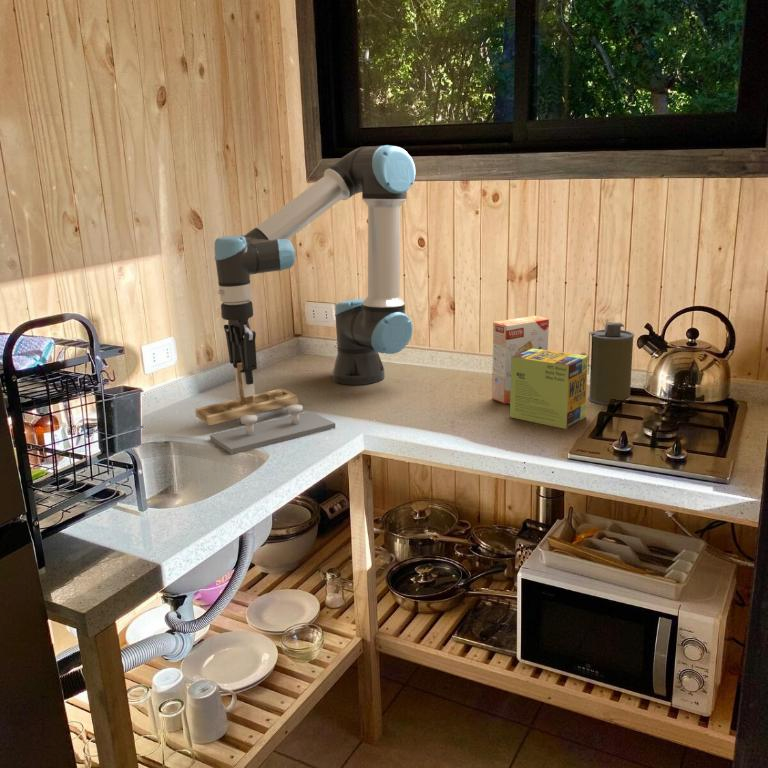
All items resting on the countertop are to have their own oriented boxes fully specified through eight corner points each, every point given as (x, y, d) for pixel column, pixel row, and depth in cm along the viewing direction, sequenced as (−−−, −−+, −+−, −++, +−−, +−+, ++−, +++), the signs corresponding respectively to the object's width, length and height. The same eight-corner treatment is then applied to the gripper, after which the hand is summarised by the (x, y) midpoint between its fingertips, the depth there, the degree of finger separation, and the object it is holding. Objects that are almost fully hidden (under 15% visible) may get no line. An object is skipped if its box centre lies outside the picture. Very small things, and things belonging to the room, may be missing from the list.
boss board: (310, 415, 201) (309, 395, 200) (335, 427, 192) (334, 406, 190) (210, 439, 187) (208, 417, 185) (231, 454, 177) (229, 431, 176)
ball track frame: (282, 395, 210) (278, 351, 206) (298, 403, 203) (294, 357, 199) (196, 416, 197) (190, 369, 193) (209, 425, 190) (203, 377, 187)
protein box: (567, 429, 185) (569, 365, 181) (509, 417, 195) (509, 356, 190) (586, 417, 193) (589, 355, 189) (530, 406, 203) (531, 347, 198)
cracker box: (505, 405, 204) (506, 325, 198) (491, 399, 209) (491, 321, 203) (547, 395, 211) (549, 318, 205) (533, 390, 216) (534, 314, 210)
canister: (627, 393, 210) (631, 319, 204) (633, 405, 200) (637, 327, 194) (584, 393, 212) (587, 319, 206) (589, 405, 202) (592, 328, 196)
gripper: (208, 299, 196) (219, 390, 203) (236, 308, 183) (246, 405, 190) (236, 295, 200) (246, 384, 207) (265, 303, 187) (274, 398, 194)
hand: (246, 394), depth 199 cm, fingers closed on ball track frame, 3 cm apart
